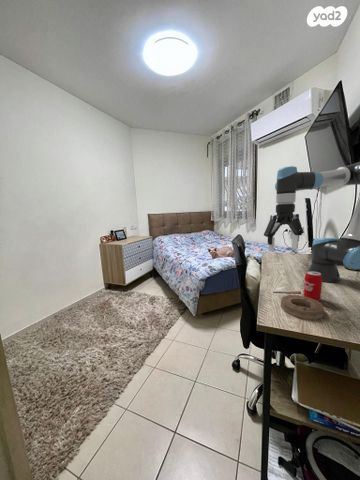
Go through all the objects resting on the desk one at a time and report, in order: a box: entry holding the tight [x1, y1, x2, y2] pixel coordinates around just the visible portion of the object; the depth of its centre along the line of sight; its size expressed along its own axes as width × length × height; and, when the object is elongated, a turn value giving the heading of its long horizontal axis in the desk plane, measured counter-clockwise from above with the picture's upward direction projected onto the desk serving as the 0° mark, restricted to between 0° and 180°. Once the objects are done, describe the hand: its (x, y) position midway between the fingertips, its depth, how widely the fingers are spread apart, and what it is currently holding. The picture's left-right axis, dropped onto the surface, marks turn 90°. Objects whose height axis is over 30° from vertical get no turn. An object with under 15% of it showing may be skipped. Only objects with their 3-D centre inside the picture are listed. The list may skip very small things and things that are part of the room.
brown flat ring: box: [280, 294, 325, 320], centre depth 76 cm, size 14×14×3 cm
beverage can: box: [303, 270, 323, 302], centre depth 84 cm, size 6×6×12 cm
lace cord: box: [272, 289, 302, 294], centre depth 92 cm, size 12×1×1 cm, turn 83°
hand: (283, 250), depth 89 cm, fingers open, 13 cm apart
